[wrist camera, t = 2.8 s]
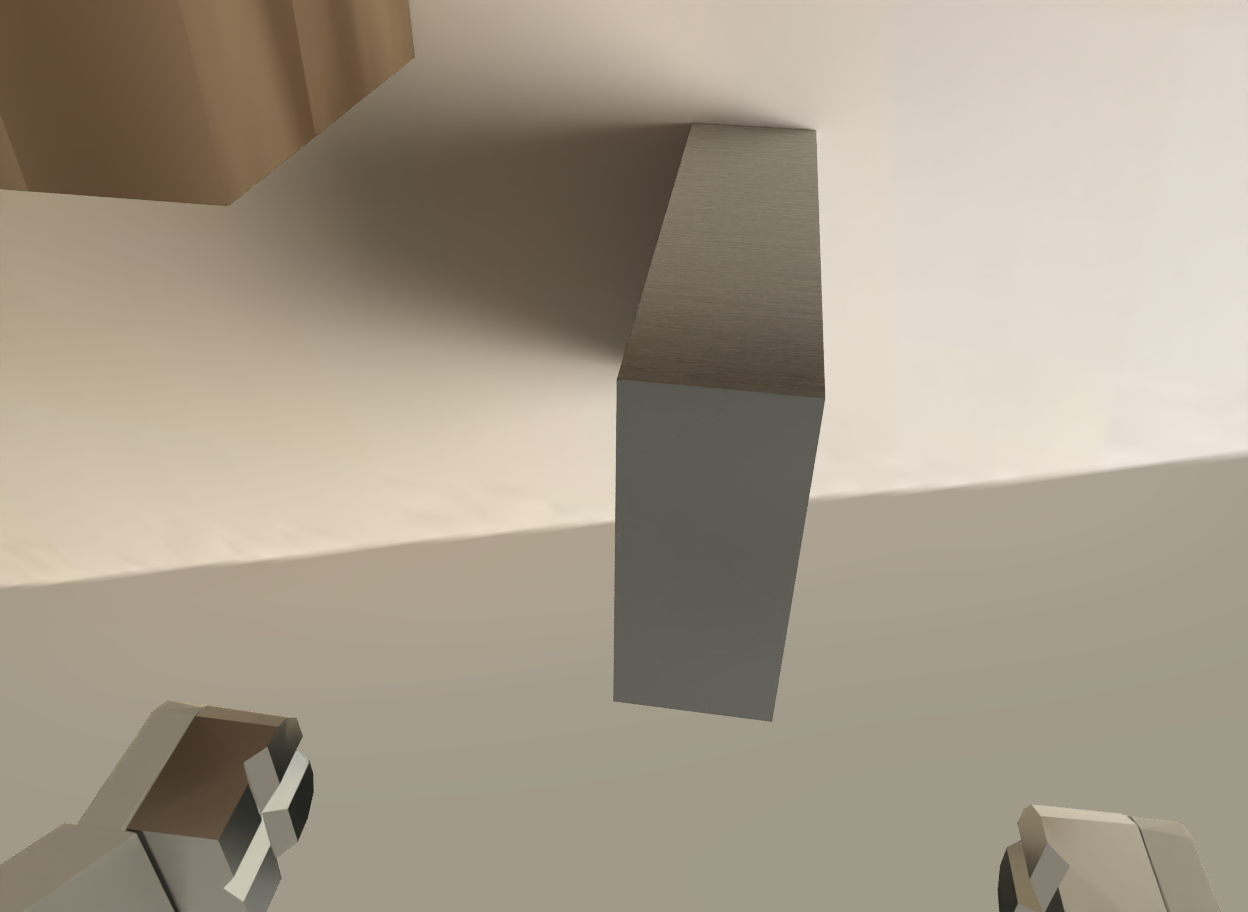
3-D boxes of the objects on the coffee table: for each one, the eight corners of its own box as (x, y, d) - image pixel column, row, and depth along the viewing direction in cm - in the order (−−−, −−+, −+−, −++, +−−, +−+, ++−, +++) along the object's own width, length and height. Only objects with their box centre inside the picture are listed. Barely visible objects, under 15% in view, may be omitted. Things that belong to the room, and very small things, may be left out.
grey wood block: (816, 130, 19) (824, 398, 11) (782, 383, 23) (772, 721, 15) (692, 122, 20) (616, 379, 12) (678, 373, 23) (613, 701, 15)
